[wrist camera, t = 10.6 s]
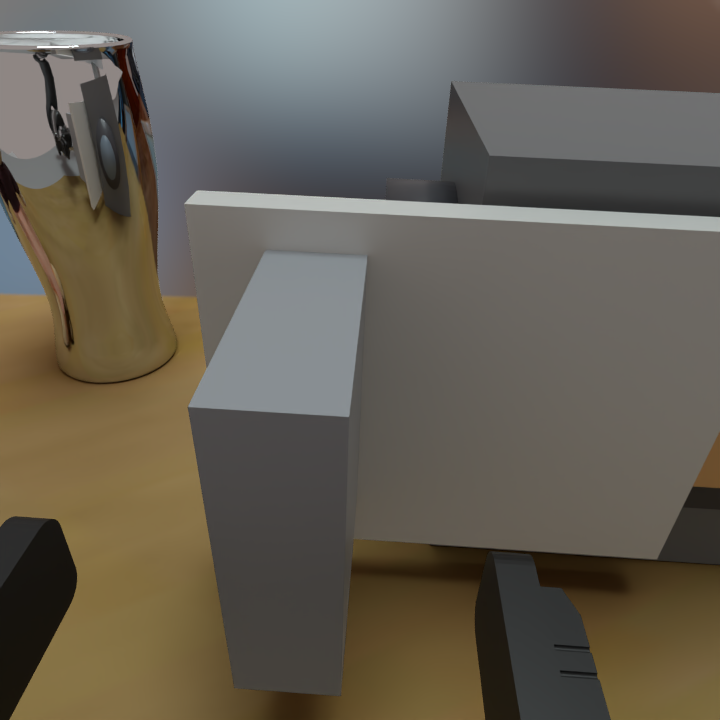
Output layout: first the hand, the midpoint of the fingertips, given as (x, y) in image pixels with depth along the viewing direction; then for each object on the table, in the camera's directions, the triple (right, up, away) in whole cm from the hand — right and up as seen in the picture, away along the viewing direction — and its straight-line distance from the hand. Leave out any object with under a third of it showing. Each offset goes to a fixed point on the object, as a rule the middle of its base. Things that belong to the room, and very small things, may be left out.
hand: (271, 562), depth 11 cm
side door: (+4, -4, +6) cm, 8 cm away
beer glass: (-11, +4, +21) cm, 24 cm away
